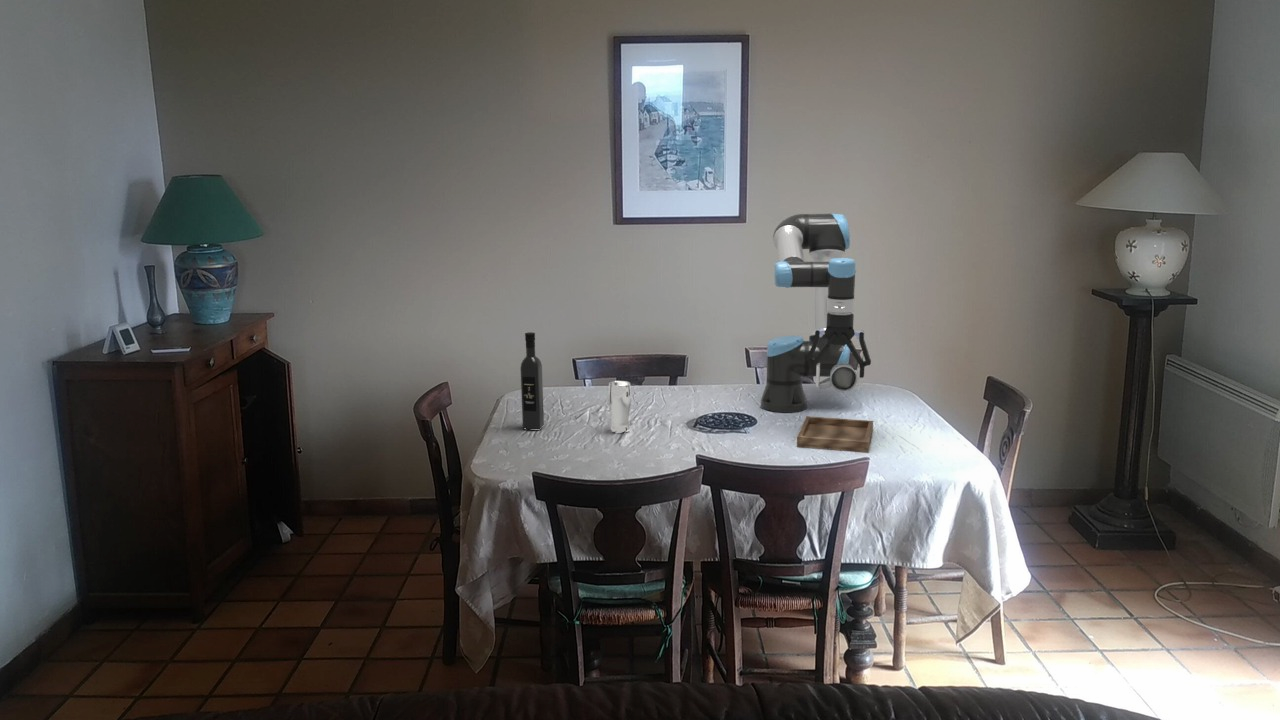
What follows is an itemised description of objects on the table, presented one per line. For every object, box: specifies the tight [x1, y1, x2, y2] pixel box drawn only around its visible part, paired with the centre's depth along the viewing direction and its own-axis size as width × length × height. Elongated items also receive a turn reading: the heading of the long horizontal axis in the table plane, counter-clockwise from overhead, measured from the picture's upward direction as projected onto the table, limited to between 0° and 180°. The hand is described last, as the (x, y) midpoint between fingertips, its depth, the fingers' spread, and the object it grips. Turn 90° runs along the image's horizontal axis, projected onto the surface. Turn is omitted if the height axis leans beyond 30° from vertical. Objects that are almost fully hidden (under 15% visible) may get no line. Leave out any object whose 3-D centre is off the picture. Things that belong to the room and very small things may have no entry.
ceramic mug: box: [819, 363, 857, 393], centre depth 272 cm, size 11×8×8 cm
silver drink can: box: [607, 380, 632, 432], centre depth 285 cm, size 7×7×15 cm
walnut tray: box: [796, 416, 874, 453], centre depth 276 cm, size 20×22×3 cm
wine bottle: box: [519, 331, 545, 430], centre depth 287 cm, size 6×6×30 cm
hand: (837, 387), depth 273 cm, fingers closed on ceramic mug, 11 cm apart
